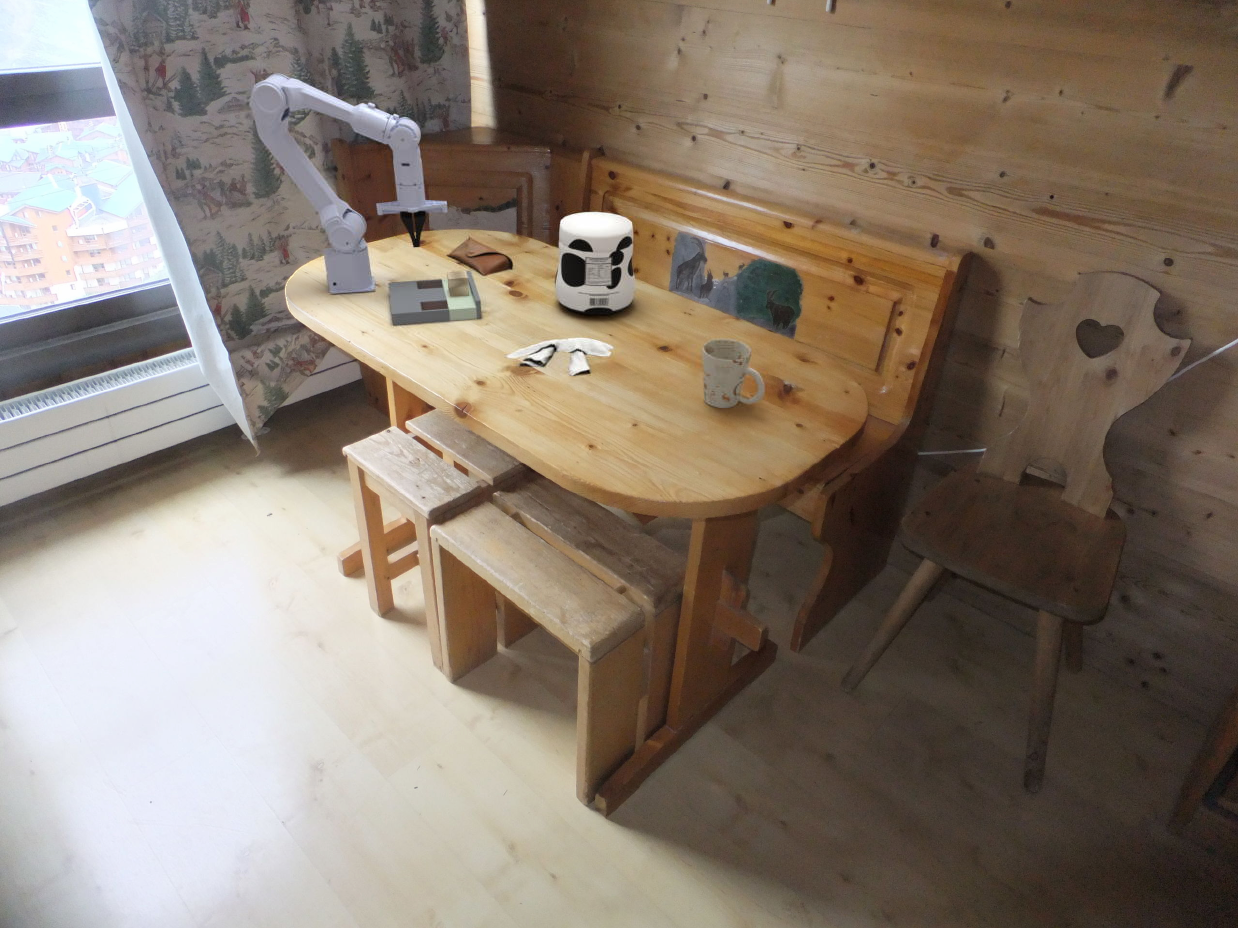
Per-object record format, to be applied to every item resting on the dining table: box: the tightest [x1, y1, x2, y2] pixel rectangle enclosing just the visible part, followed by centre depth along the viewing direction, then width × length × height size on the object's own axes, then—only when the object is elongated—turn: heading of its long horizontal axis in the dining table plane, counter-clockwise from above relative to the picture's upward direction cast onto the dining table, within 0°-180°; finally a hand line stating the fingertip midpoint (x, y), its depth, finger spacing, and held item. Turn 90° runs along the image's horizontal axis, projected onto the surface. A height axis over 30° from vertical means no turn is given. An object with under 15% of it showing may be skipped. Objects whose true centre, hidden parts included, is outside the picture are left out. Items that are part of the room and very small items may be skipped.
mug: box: [701, 338, 766, 409], centre depth 139 cm, size 8×13×10 cm, turn 51°
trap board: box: [387, 270, 483, 326], centre depth 172 cm, size 18×17×4 cm
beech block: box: [446, 270, 469, 297], centre depth 172 cm, size 4×4×4 cm
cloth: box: [505, 337, 614, 377], centre depth 154 cm, size 20×22×2 cm
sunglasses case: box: [445, 236, 514, 277], centre depth 195 cm, size 18×7×7 cm, turn 42°
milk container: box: [554, 211, 636, 315], centre depth 171 cm, size 17×17×18 cm
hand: (416, 246), depth 176 cm, fingers closed
